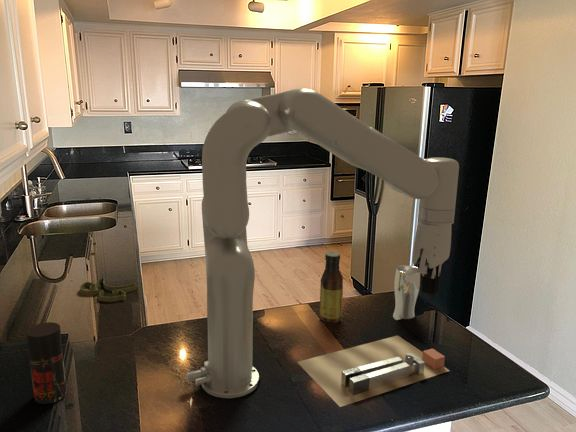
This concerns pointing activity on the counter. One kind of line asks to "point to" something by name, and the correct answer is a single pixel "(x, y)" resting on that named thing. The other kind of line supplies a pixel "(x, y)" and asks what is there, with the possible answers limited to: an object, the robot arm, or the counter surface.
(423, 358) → the tab
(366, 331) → the counter surface
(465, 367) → the counter surface
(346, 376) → the tong jaw
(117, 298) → the cookie cutter
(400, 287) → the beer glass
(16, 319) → the counter surface
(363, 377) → the base
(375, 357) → the board
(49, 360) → the deodorant
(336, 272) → the sauce bottle
